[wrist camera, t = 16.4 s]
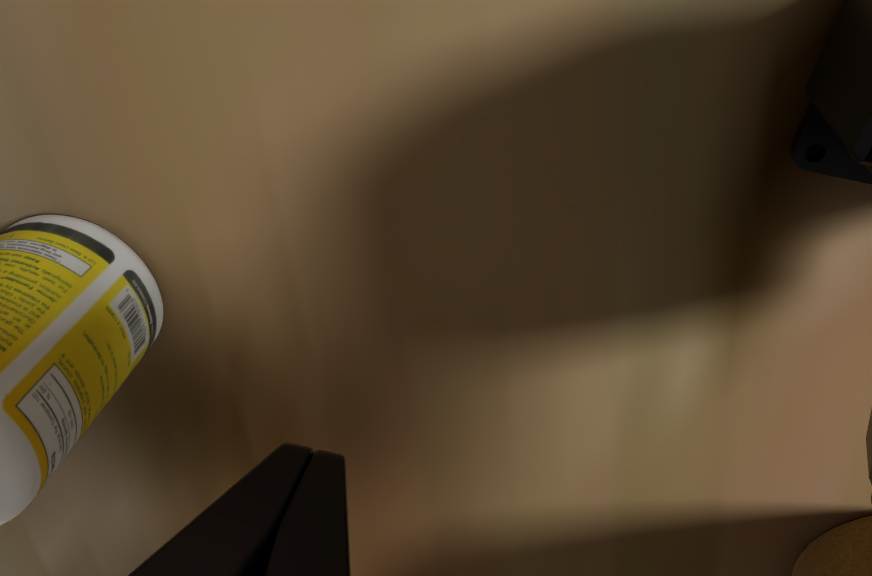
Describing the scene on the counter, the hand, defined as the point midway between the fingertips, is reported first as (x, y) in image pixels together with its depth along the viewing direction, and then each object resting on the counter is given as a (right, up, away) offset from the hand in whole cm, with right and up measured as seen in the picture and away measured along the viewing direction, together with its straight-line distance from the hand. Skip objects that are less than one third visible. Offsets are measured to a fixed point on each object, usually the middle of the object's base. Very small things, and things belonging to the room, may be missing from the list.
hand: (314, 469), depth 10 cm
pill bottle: (-11, +3, +17) cm, 20 cm away
